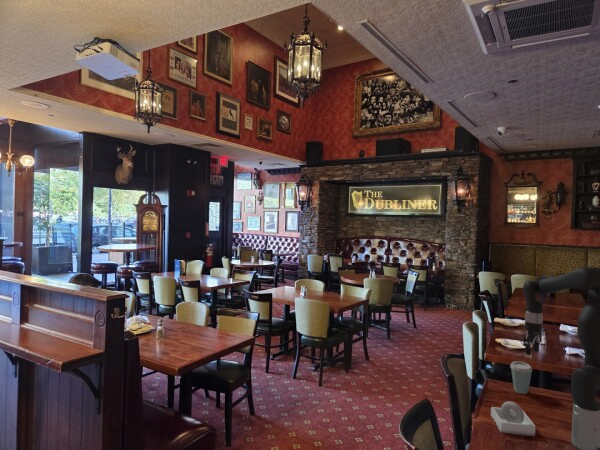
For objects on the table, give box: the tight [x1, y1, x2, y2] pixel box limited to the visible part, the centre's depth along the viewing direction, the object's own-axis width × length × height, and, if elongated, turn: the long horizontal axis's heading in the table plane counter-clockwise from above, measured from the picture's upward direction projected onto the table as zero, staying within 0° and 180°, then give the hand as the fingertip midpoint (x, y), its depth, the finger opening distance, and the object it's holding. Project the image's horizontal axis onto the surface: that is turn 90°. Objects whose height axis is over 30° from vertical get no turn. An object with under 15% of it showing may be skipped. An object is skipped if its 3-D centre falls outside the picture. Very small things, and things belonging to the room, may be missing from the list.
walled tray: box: [490, 406, 536, 437], centre depth 179 cm, size 14×14×4 cm
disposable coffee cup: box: [509, 360, 533, 395], centre depth 214 cm, size 11×11×15 cm
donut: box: [500, 400, 524, 424], centre depth 179 cm, size 10×4×10 cm, turn 35°
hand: (532, 353), depth 194 cm, fingers open, 8 cm apart
